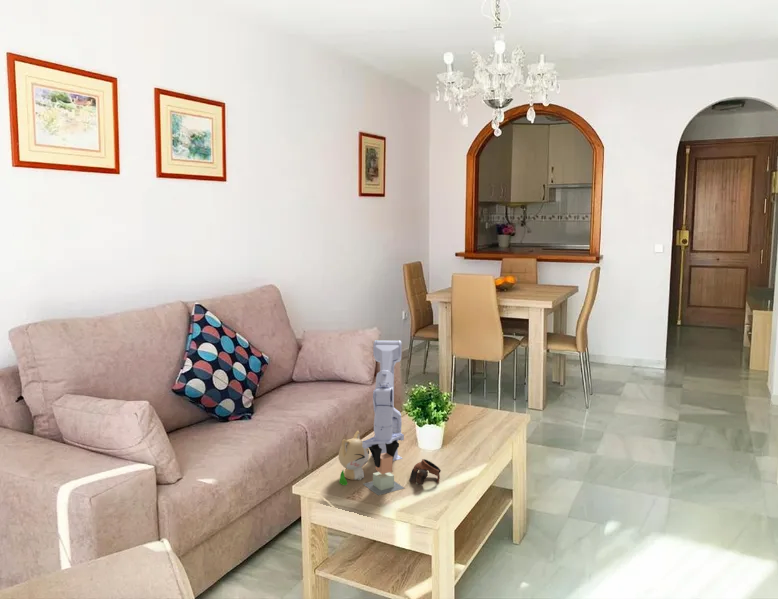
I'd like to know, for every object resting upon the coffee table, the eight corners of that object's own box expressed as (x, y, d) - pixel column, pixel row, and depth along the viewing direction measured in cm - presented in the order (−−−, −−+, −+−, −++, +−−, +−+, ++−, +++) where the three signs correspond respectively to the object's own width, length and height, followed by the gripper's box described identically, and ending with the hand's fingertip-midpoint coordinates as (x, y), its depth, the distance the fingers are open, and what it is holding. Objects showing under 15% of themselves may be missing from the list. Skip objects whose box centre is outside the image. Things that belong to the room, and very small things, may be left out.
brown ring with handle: (409, 476, 221) (421, 455, 221) (433, 491, 219) (445, 470, 219) (403, 481, 210) (415, 459, 210) (428, 498, 207) (441, 475, 207)
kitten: (355, 490, 209) (354, 445, 207) (328, 484, 214) (328, 440, 211) (376, 473, 222) (376, 431, 220) (351, 467, 227) (351, 426, 225)
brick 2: (372, 484, 212) (372, 473, 211) (386, 481, 215) (386, 469, 214) (380, 490, 208) (380, 478, 207) (394, 487, 210) (394, 475, 210)
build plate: (362, 485, 213) (362, 483, 213) (388, 478, 218) (388, 477, 218) (378, 496, 204) (378, 495, 204) (404, 489, 210) (404, 488, 210)
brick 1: (375, 469, 211) (375, 455, 210) (386, 467, 213) (386, 452, 212) (381, 474, 207) (381, 459, 207) (392, 471, 209) (392, 456, 209)
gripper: (370, 432, 201) (370, 474, 203) (409, 424, 209) (408, 464, 211) (359, 425, 207) (359, 466, 209) (397, 418, 214) (397, 457, 216)
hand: (383, 464), depth 210 cm, fingers closed on brick 1, 4 cm apart
